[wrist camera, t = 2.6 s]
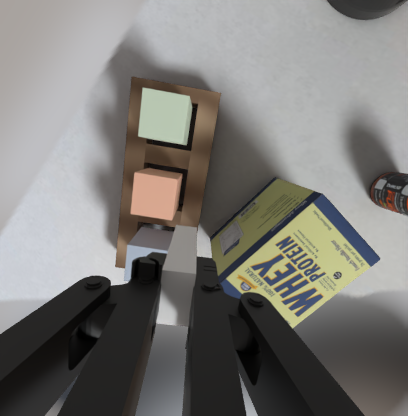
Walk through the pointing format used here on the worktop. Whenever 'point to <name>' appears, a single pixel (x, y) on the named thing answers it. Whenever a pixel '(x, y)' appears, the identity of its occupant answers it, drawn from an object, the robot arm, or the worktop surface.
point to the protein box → (289, 250)
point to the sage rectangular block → (165, 116)
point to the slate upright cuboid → (146, 246)
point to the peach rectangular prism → (156, 193)
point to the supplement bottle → (391, 192)
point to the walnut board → (166, 160)
